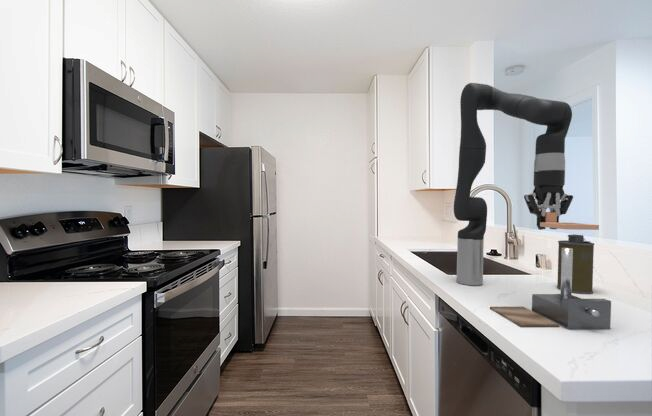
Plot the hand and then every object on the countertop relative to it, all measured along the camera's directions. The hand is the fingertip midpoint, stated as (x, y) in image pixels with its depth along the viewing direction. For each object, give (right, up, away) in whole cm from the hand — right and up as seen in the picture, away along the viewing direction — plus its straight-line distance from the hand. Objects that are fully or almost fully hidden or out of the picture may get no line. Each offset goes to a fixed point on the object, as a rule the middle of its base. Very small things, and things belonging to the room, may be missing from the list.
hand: (547, 228), depth 95 cm
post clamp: (0, -24, -9) cm, 25 cm away
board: (-11, -24, -7) cm, 27 cm away
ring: (0, +1, -5) cm, 5 cm away
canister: (+25, -24, +22) cm, 41 cm away
